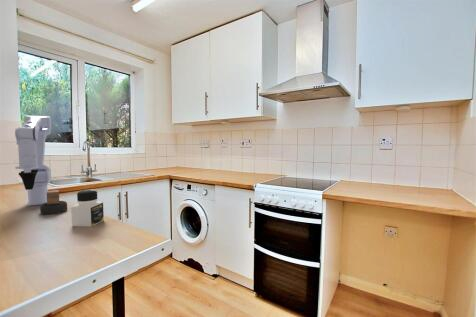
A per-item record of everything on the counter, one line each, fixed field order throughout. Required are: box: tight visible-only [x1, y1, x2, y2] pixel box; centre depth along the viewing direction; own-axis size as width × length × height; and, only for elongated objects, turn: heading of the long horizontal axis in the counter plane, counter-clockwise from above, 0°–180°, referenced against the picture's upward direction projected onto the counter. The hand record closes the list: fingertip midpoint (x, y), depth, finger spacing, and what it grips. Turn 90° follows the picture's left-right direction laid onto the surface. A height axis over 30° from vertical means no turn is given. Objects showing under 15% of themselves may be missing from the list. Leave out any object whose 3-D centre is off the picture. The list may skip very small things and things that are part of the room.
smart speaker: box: [39, 200, 68, 216], centre depth 98 cm, size 9×9×4 cm
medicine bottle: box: [70, 189, 105, 228], centre depth 83 cm, size 7×7×12 cm
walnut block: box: [47, 189, 60, 205], centre depth 97 cm, size 4×4×5 cm
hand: (29, 188), depth 98 cm, fingers open, 7 cm apart
